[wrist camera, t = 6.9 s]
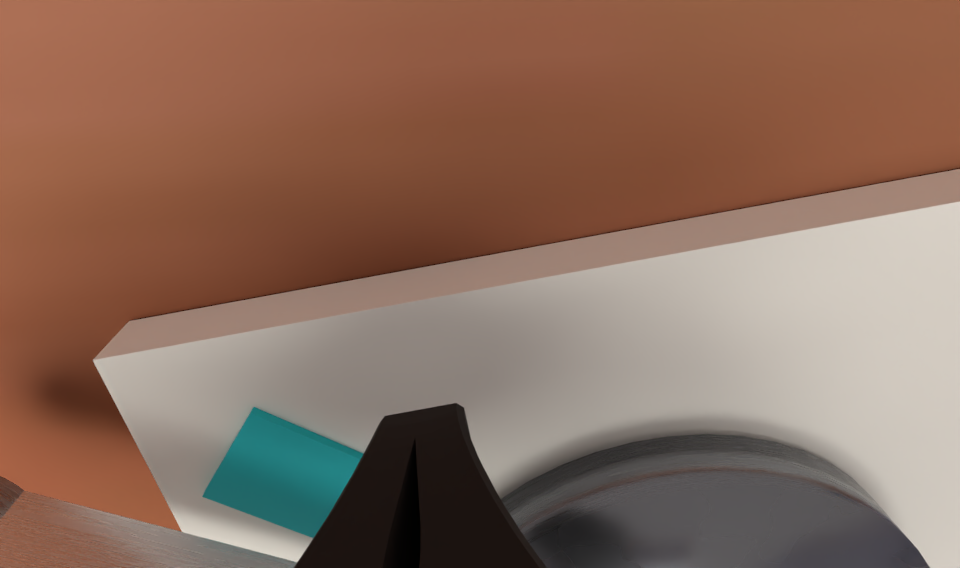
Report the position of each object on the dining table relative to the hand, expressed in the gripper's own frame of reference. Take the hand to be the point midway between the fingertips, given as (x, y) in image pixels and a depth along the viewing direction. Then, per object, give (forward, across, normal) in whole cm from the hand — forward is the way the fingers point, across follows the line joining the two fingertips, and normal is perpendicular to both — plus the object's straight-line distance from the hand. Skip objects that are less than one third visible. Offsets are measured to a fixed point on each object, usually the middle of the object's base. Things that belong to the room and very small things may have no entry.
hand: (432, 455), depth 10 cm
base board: (+3, -4, +8) cm, 10 cm away
